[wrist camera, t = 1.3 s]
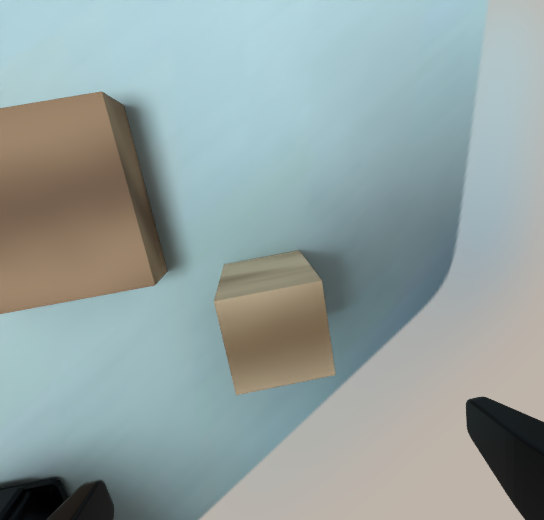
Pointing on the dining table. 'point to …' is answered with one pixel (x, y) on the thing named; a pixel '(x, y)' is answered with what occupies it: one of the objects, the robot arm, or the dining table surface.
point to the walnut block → (72, 204)
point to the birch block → (273, 322)
